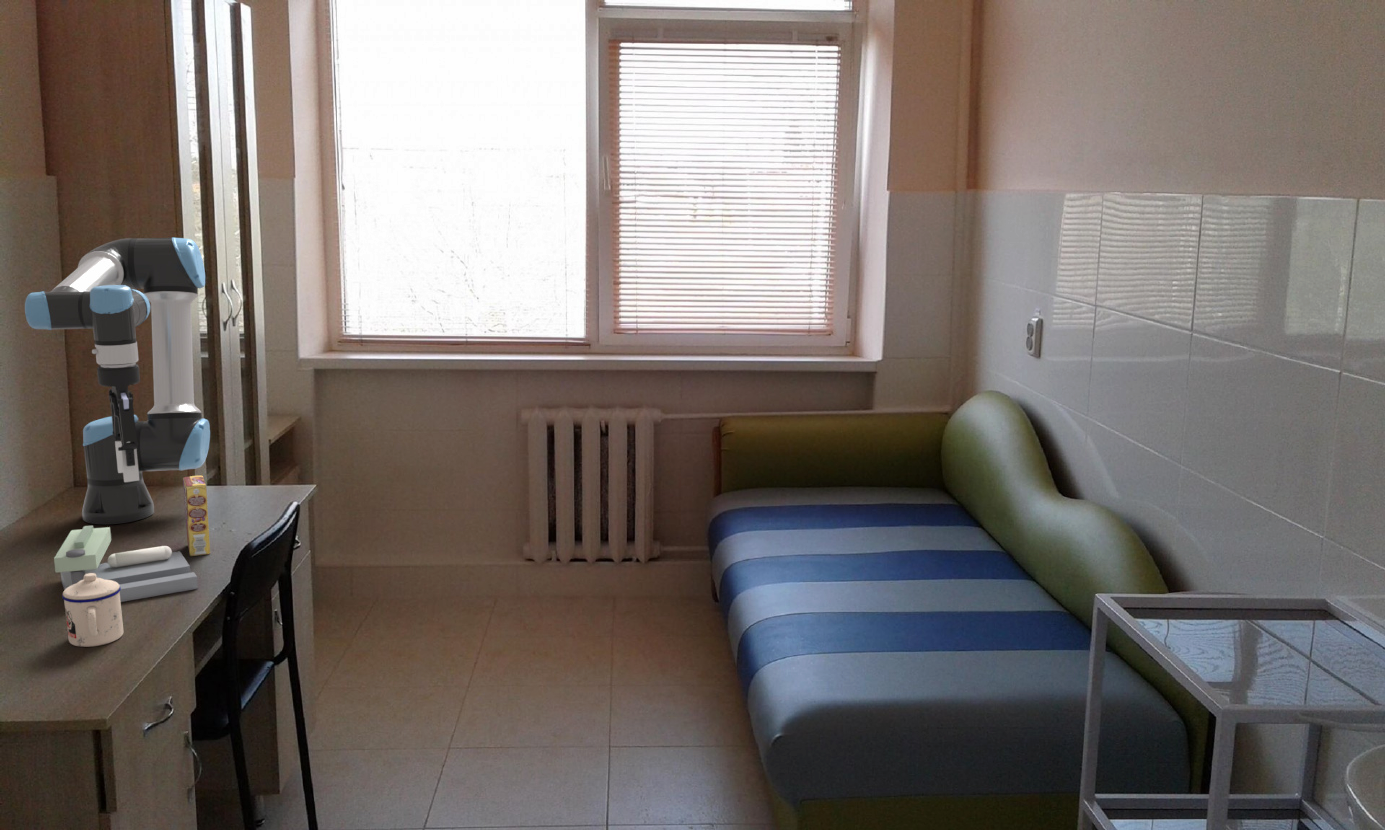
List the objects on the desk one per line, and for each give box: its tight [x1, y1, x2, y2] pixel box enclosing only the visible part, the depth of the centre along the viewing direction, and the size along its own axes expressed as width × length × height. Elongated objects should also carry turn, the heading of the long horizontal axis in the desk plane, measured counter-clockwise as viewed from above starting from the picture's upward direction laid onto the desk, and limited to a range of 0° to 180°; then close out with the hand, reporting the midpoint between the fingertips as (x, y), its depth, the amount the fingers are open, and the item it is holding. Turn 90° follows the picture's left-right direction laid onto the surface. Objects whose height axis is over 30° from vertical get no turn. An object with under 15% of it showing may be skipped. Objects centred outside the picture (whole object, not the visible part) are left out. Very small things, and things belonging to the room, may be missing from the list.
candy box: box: [182, 475, 211, 557], centre depth 255 cm, size 9×4×15 cm, turn 26°
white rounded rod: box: [107, 545, 173, 568], centre depth 240 cm, size 3×12×3 cm, turn 123°
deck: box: [60, 550, 199, 603], centre depth 234 cm, size 18×22×6 cm
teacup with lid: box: [61, 573, 124, 648], centre depth 207 cm, size 12×9×12 cm
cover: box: [53, 525, 112, 574], centre depth 233 cm, size 19×7×4 cm, turn 18°
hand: (128, 476), depth 242 cm, fingers open, 8 cm apart
